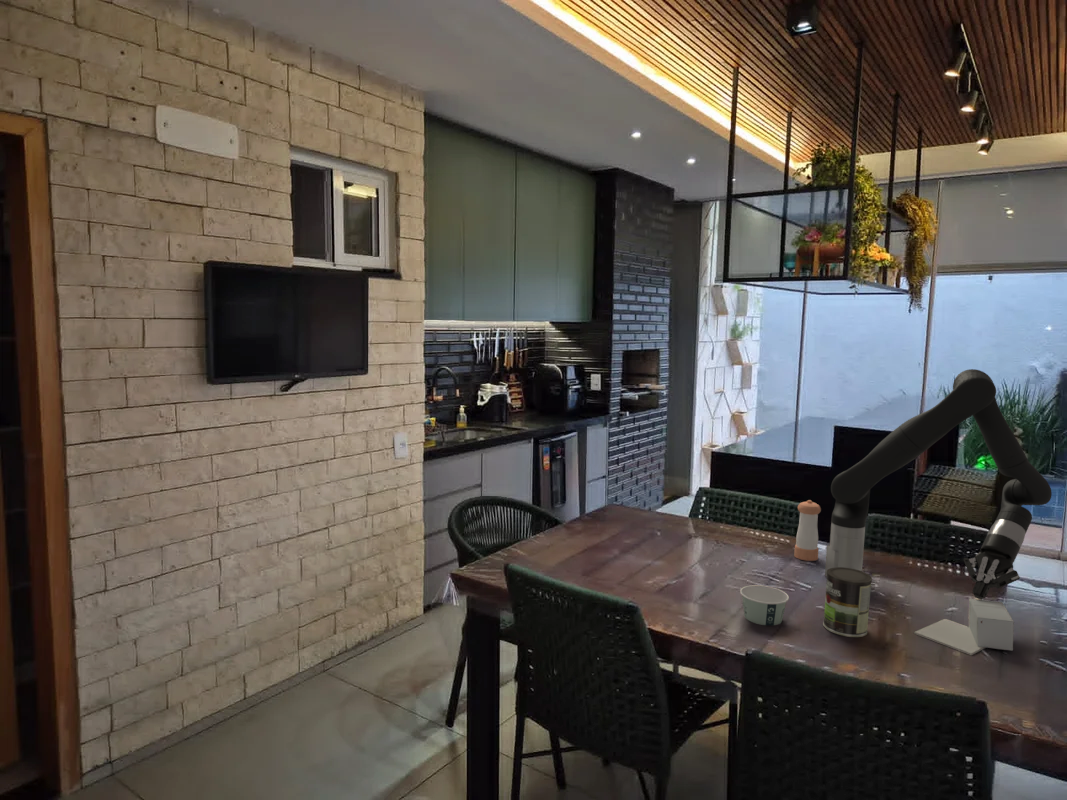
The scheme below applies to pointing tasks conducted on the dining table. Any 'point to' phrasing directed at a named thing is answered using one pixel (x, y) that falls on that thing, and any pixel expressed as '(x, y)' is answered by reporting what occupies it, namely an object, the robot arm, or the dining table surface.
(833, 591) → the coffee can
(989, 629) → the supplement box
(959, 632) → the mat
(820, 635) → the dining table surface
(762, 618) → the food container
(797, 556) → the pepper shaker
